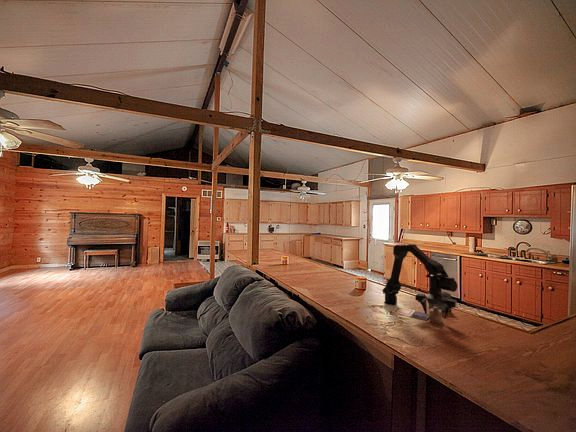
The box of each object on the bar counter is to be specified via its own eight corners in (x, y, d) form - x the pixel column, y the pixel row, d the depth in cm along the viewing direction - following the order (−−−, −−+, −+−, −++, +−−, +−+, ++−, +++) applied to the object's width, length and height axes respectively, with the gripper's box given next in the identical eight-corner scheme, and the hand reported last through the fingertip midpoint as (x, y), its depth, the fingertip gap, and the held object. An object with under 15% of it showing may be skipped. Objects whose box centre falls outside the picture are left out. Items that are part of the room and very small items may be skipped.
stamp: (429, 321, 138) (429, 307, 138) (431, 319, 142) (431, 305, 142) (439, 324, 135) (439, 309, 135) (441, 321, 139) (441, 307, 139)
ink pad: (410, 316, 145) (410, 314, 145) (414, 313, 151) (414, 310, 151) (426, 320, 139) (426, 317, 139) (429, 316, 145) (429, 313, 145)
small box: (446, 308, 159) (446, 291, 159) (451, 312, 152) (451, 294, 153) (428, 307, 160) (428, 290, 160) (433, 311, 154) (433, 293, 154)
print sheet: (391, 312, 151) (391, 311, 151) (398, 307, 161) (398, 306, 161) (409, 316, 145) (409, 315, 145) (415, 311, 154) (415, 310, 154)
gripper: (412, 286, 139) (412, 316, 138) (453, 293, 126) (453, 325, 126) (418, 283, 147) (418, 310, 147) (456, 289, 135) (456, 319, 135)
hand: (435, 316), depth 138 cm, fingers open, 9 cm apart
